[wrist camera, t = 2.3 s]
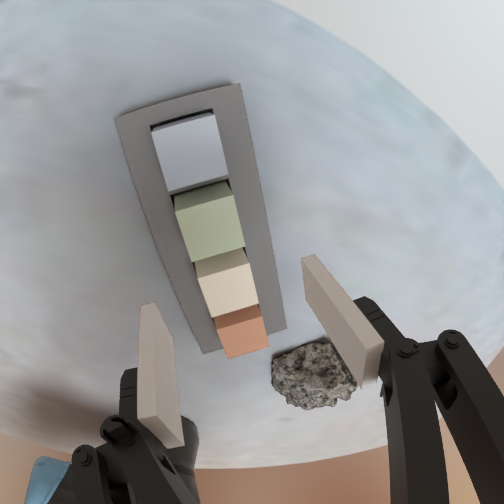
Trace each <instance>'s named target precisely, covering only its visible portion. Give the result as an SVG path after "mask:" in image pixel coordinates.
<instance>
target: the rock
mask: <svg viewBox="0 0 504 504" xmlns="http://www.w3.org/2000/svg"><path fill="white" fill-rule="evenodd" d="M273 361H274V363H273V365H272V368H273V373H272V376H273V383H272V386H273V387H274V389H275V390H276V391H279V393H280V394H281V395H284V396H285V397H286V402H287V404H293V405H295V407H298V406H300V407H302V409H304V410H310V409H313V408H315V407H323V406H331V407H333V406H335V405H336V403H337V398H340V399H342V400H345V401H347V400H349V399H350V398H351V394H352V392H354V391H355V390H356V389H357V387H358V383H357V382H356V380H355V378H354V377H353V375H352V374H351V372H350V370H349V369H348V367H347V365H346V364H345V362H344V360H343V359H342V357H341V355H340V354H339V352H338V351H337V349H336V347H335V346H334V344H331V343H329V344H327V343H325V344H322V345H321V344H320V343H310V344H307V345H306V346H301V347H299V348H297V349H295V350H293V351H292V352H291V353H289V354H287V355H286V354H283V355H282V356H281V357H280V358H278V359H277V358H276V359H274V360H273Z"/></svg>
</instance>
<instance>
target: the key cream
mask: <svg viewBox="0 0 504 504" xmlns="http://www.w3.org/2000/svg"><path fill="white" fill-rule="evenodd" d="M195 267H196V273H197V279H198V282H199V284H200V287H201V290H202V293H203V295H204V298H205V301H206V303H207V306H208V309H209V311H210V314H211V317H215V316H219V315H222V314H226V313H229V312H232V311H236V310H239V309H242V308H245V307H249V306H252V305H255V304H258V303H259V301H258V297H257V293H256V289H255V284H254V280H253V276H252V272H251V267H250V263H249V261H248V259H247V257H246V254H245V252H244V250H243V248H238V249H235V250H231V251H228V252H225V253H221V254H218V255H215V256H211V257H208V258H204V259H201V260H198V261H195Z"/></svg>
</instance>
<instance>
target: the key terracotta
mask: <svg viewBox="0 0 504 504" xmlns="http://www.w3.org/2000/svg"><path fill="white" fill-rule="evenodd" d="M214 321H215V325H216V330H217V332H218V335H219V338H220V340H221V343H222V345H223V348H224V350H225V353H226V355H227V358H228V359H229V358H233V357H236V356H240V355H243V354H246V353H249V352H253V351H256V350H259V349H262V348H265V347H268V346H269V343H268V339H267V335H266V330H265V326H264V322H263V318H262V315H261V312H260V310H259V307H258V305H257V304H255V305H252V306H249V307H245V308H242V309H239V310H236V311H232V312H229V313H226V314H222V315H219V316H215V317H214Z"/></svg>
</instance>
